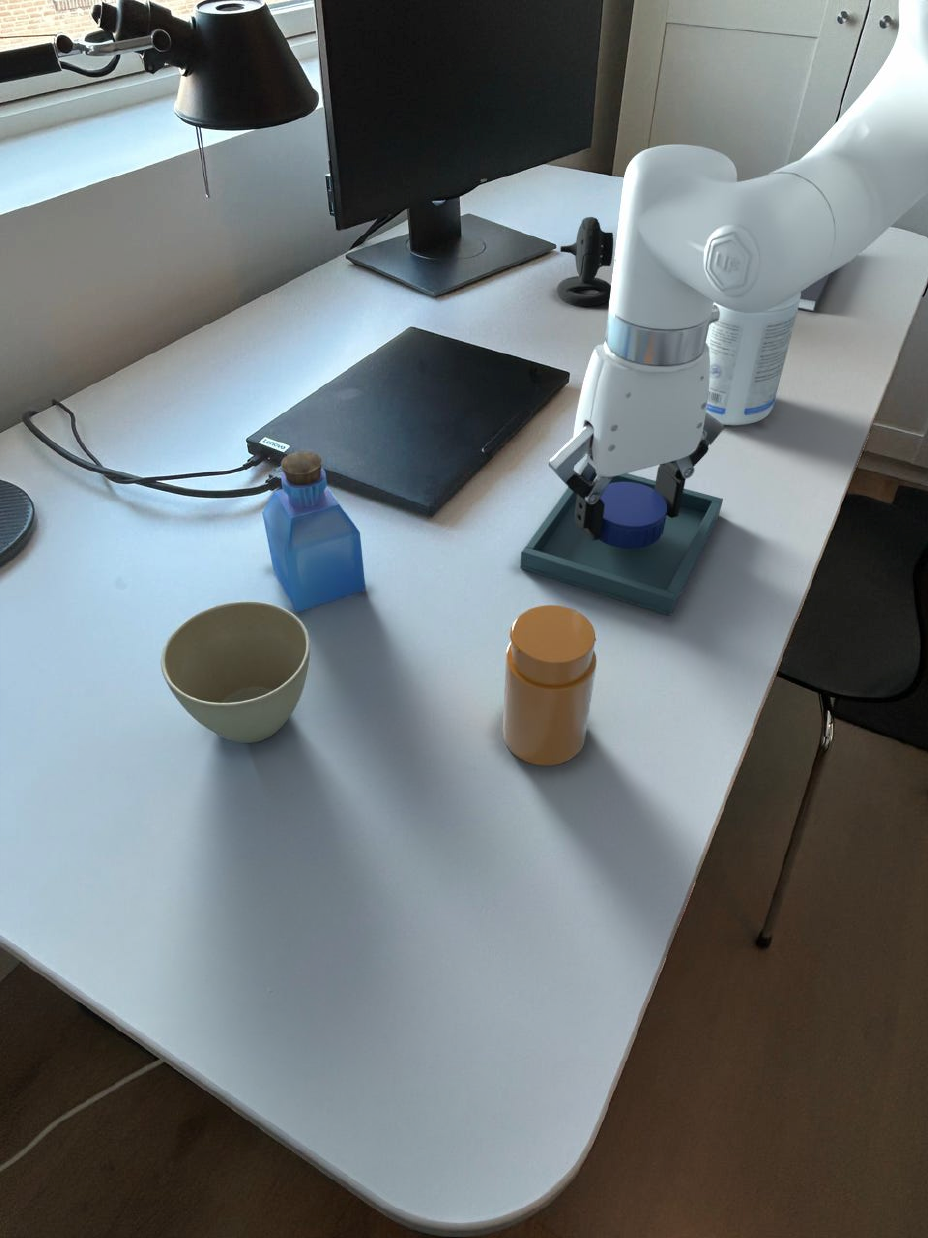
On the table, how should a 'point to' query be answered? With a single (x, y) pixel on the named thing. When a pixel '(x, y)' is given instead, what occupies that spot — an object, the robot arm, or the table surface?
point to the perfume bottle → (312, 536)
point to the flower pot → (238, 668)
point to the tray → (624, 552)
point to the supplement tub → (748, 361)
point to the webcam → (588, 265)
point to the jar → (548, 684)
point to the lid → (632, 515)
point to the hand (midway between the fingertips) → (627, 518)
